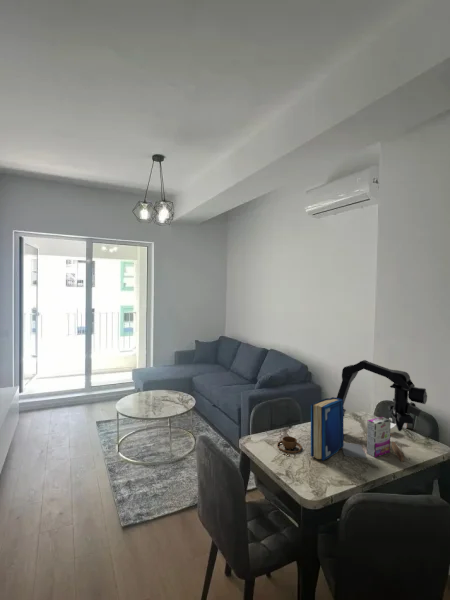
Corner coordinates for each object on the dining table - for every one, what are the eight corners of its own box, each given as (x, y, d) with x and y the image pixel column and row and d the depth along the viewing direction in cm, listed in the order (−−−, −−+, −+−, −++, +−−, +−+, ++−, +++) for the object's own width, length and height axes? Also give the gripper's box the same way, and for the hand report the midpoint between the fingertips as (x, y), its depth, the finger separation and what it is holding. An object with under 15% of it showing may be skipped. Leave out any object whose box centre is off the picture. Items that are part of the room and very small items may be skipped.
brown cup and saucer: (285, 439, 174) (286, 428, 174) (323, 450, 163) (323, 438, 162) (270, 452, 160) (270, 440, 159) (310, 465, 148) (311, 452, 148)
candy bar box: (381, 448, 165) (382, 416, 164) (390, 453, 160) (391, 419, 160) (365, 453, 160) (366, 419, 159) (374, 458, 155) (375, 423, 155)
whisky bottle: (389, 422, 200) (363, 438, 181) (389, 413, 199) (363, 428, 181) (407, 428, 192) (382, 445, 173) (407, 418, 191) (381, 434, 173)
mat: (344, 455, 157) (344, 455, 157) (340, 442, 170) (340, 442, 170) (366, 458, 155) (366, 457, 155) (360, 444, 168) (360, 444, 168)
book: (332, 443, 169) (331, 394, 169) (346, 447, 164) (345, 397, 164) (310, 457, 154) (309, 403, 154) (324, 462, 149) (323, 406, 149)
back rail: (400, 461, 152) (400, 455, 152) (391, 447, 166) (392, 441, 166) (403, 461, 152) (403, 455, 152) (394, 447, 166) (394, 442, 166)
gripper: (427, 406, 147) (425, 441, 147) (412, 394, 165) (411, 425, 165) (400, 404, 149) (398, 438, 149) (388, 392, 167) (387, 422, 168)
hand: (399, 430), depth 158 cm, fingers closed
